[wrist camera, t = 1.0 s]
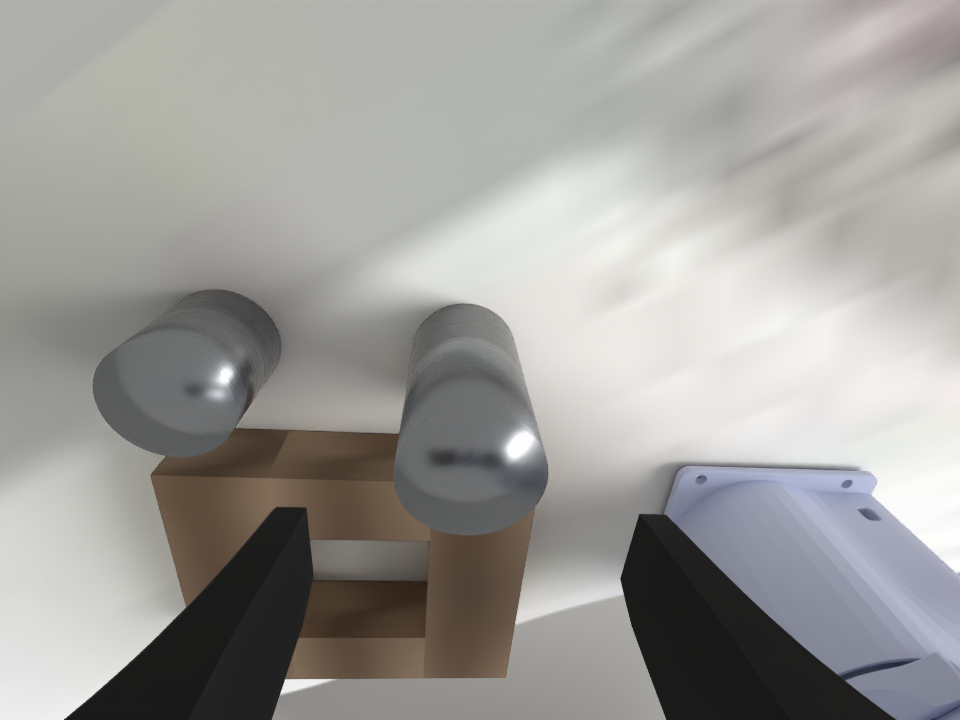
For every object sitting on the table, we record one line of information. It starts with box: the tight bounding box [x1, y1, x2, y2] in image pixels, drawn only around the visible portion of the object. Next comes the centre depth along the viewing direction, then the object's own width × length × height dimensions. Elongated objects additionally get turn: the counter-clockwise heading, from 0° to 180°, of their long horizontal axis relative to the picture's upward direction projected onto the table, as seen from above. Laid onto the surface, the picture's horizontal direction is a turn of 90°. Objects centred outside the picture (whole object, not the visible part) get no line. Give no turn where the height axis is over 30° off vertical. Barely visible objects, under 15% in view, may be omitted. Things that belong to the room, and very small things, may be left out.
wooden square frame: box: [150, 429, 535, 679], centre depth 22 cm, size 14×12×3 cm
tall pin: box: [393, 304, 548, 535], centre depth 16 cm, size 4×4×8 cm
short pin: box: [93, 290, 281, 457], centre depth 17 cm, size 4×4×4 cm
